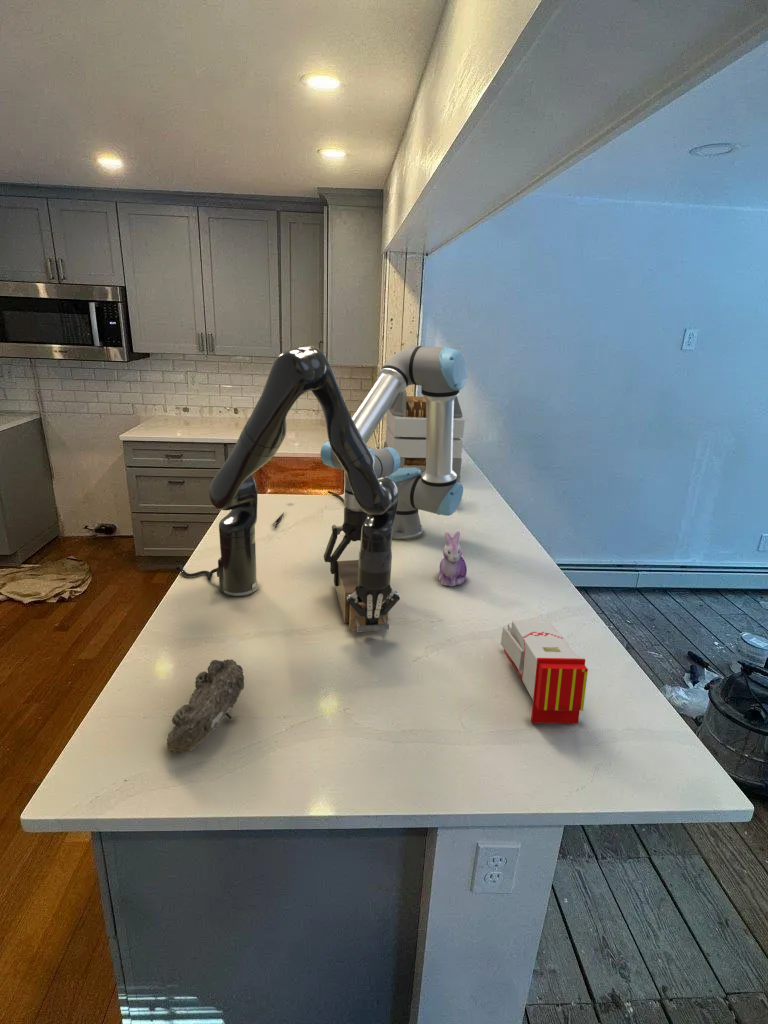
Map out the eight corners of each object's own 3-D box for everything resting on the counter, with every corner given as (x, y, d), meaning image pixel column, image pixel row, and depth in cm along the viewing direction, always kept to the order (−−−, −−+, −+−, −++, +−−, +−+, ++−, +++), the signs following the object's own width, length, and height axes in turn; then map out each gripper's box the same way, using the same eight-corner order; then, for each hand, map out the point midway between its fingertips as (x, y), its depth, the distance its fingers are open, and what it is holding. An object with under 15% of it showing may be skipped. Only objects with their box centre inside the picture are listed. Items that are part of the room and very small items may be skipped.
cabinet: (385, 620, 144) (387, 590, 142) (344, 622, 142) (345, 593, 139) (372, 585, 162) (373, 559, 159) (335, 587, 160) (335, 560, 157)
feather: (291, 507, 225) (293, 503, 224) (273, 530, 198) (276, 526, 198) (287, 504, 224) (289, 500, 224) (269, 528, 198) (272, 523, 197)
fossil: (192, 660, 117) (244, 628, 112) (224, 691, 120) (276, 661, 115) (142, 746, 98) (202, 712, 93) (182, 779, 101) (242, 748, 96)
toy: (547, 606, 135) (596, 665, 106) (541, 658, 138) (589, 729, 108) (496, 604, 134) (532, 664, 105) (492, 657, 137) (526, 729, 108)
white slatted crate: (382, 463, 289) (386, 382, 275) (445, 464, 293) (451, 384, 279) (390, 482, 257) (394, 392, 243) (460, 483, 261) (468, 394, 247)
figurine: (448, 590, 161) (452, 541, 156) (429, 575, 169) (432, 528, 164) (475, 584, 165) (480, 536, 160) (455, 570, 173) (459, 524, 168)
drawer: (392, 638, 135) (393, 614, 133) (353, 641, 133) (354, 617, 131) (373, 592, 156) (374, 571, 154) (340, 594, 154) (340, 573, 152)
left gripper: (348, 573, 125) (346, 640, 131) (407, 570, 128) (401, 636, 134) (343, 558, 131) (341, 622, 138) (399, 556, 134) (394, 619, 140)
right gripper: (315, 513, 142) (315, 591, 150) (404, 510, 147) (400, 586, 155) (313, 503, 149) (313, 579, 157) (398, 501, 154) (394, 574, 162)
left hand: (371, 629), depth 136 cm, fingers closed
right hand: (356, 582), depth 156 cm, fingers closed on cabinet, 11 cm apart
